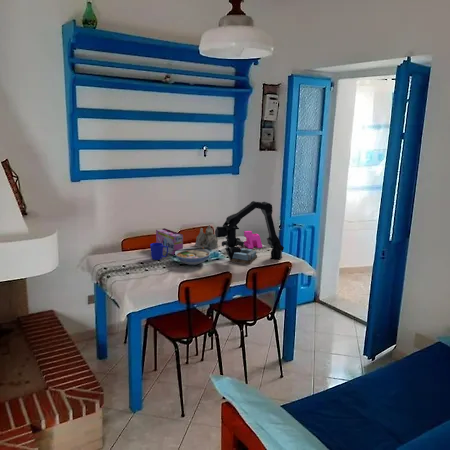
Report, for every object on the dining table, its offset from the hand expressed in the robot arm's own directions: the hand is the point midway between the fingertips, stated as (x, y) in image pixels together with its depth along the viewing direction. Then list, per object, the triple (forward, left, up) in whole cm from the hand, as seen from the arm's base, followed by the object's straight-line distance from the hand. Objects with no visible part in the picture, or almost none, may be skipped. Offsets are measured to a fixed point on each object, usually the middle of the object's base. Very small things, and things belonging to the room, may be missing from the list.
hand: (230, 259), depth 290 cm
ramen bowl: (+22, +10, -3) cm, 25 cm away
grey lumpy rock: (+31, -30, -3) cm, 43 cm away
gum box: (+50, -8, -3) cm, 51 cm away
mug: (+46, +11, -3) cm, 48 cm away
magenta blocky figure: (0, -44, -3) cm, 44 cm away
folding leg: (-5, -6, -1) cm, 8 cm away
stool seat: (-5, -11, -3) cm, 12 cm away
